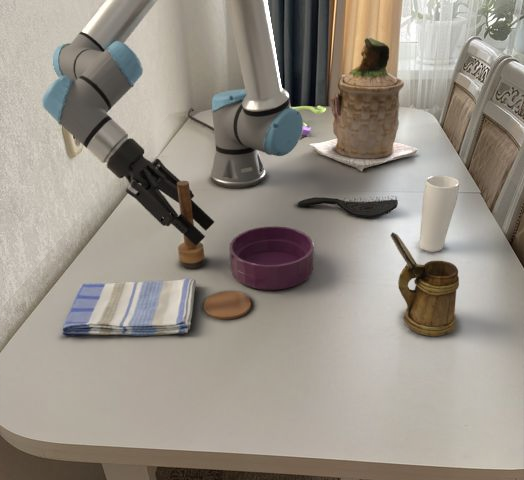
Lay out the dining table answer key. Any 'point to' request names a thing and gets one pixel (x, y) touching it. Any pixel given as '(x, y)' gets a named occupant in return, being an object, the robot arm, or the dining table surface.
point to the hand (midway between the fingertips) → (205, 233)
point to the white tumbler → (437, 211)
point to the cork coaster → (227, 305)
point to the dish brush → (187, 251)
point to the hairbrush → (356, 206)
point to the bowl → (271, 257)
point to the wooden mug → (428, 293)
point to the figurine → (307, 128)
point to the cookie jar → (366, 113)
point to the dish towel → (132, 308)
